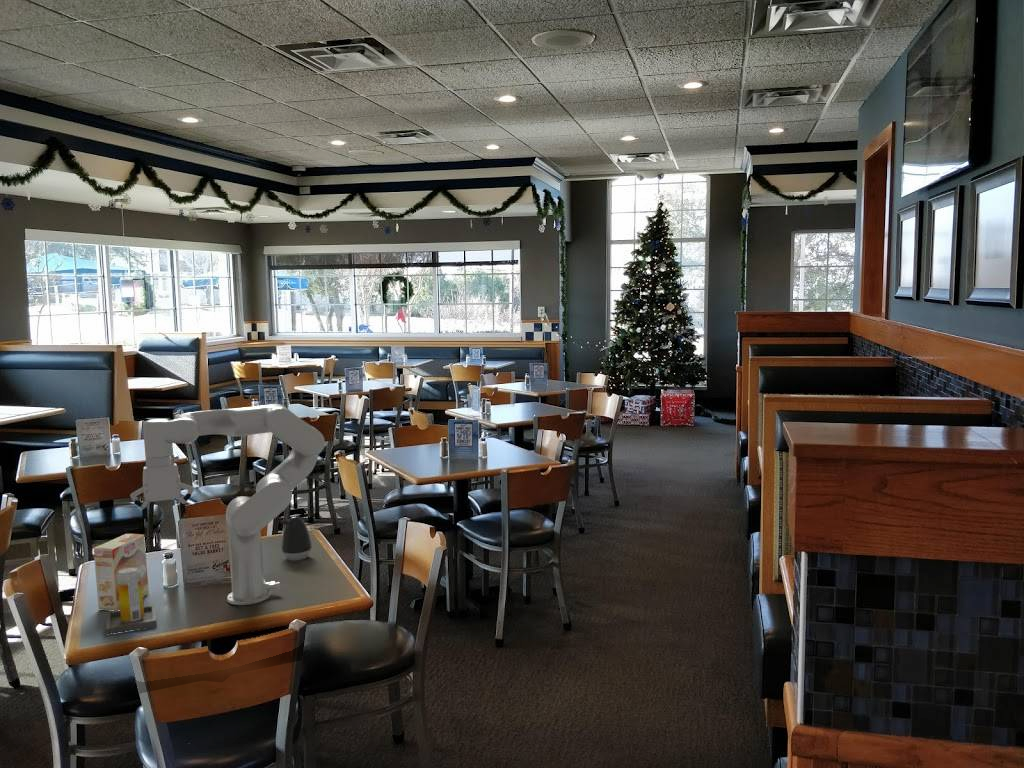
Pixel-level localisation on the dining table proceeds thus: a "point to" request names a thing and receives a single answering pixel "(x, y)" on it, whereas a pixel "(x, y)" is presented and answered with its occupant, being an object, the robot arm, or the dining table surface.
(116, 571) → the coffeecake box
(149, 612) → the tray
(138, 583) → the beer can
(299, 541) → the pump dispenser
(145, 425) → the robot arm
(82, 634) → the dining table surface
